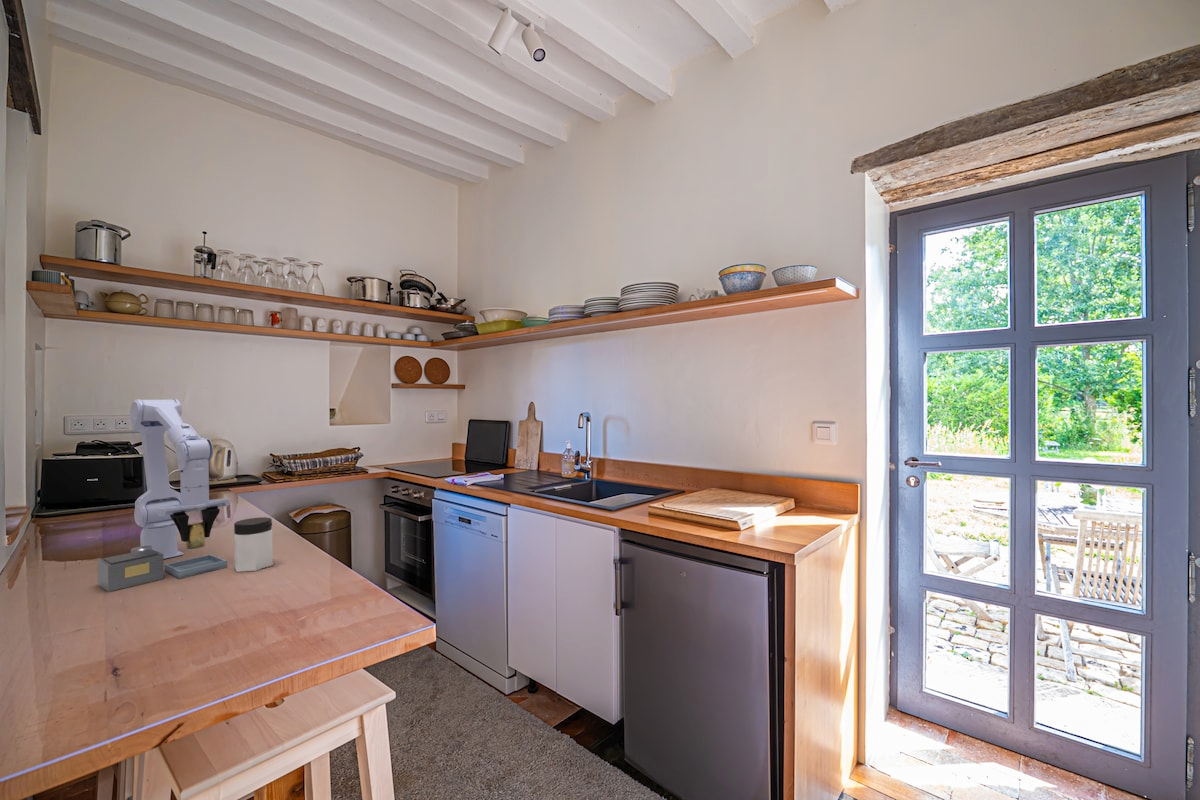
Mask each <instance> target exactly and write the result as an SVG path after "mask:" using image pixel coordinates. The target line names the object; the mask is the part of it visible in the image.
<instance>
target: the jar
mask: <svg viewBox="0 0 1200 800" xmlns="http://www.w3.org/2000/svg"><path fill="white" fill-rule="evenodd" d="M233 525H234V527H233V528H234V529H233V531H234V536H233V537H234V540H233V541H234V568H235V572H237V573H240V572H241V573H242V572H256V571H257V572H258V571H260V570H262V568H263V569H265V567H266V568H269V567H271V566H273V562H274V561H273V554H274V553H273V549H274V548H273V530H272V529H273V520H272V518H271V517H265V516H264V517H251V518H246V519H240V520H238V521H235V522H234V524H233ZM268 566H269V567H268Z"/></svg>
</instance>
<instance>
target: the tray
mask: <svg viewBox="0 0 1200 800" xmlns="http://www.w3.org/2000/svg"><path fill="white" fill-rule="evenodd" d="M225 568H228V560H227V559H224V558H222V557H220V556H216V555H214V554H211V553H210V554H205V555H201V556H197V557H191V558H186V559H183V560H178V561H174V562H171V563H170V562H169V563H164V573H166V574H169V575H171V576H173V577H175V578H176V579H179V580H180V579H184V578H189V577H193V576H197V575H200V574H201V575H202V574H204V573H205V574H206V573H208V572H213V571H218V570H221V569H225Z"/></svg>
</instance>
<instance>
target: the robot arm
mask: <svg viewBox="0 0 1200 800" xmlns="http://www.w3.org/2000/svg"><path fill="white" fill-rule="evenodd" d="M182 407H183V406H182V403H181V402H180V401H179V400H178V398H172V399H140V398H139V399H138V398H136V399H134V401H132V403H131V405H130V412H129V413H130V422H131V423H130V424H131V427H132V430H133V431H134V432H138V433H139V435H140V440H141V446H142V454H143V456H142V457H143V463H144V464H143V465H144V474H145V483H146V492H144V493H143V494H141V495H140V496H139V497H138V498H137V499H136V500H135V502H134V510H133V511H134V514H133V516H134V517H133V518H134V522H135V524H136V525H137V526H138V527H141V528H142V530H141V531H140V537H139V538H140V541H139V543H140V546H152V549H153V550H155V551H157V552H159V553H162V554H163V556H164V560H165V559H169V558H174V557H179V556H183V555H184V552H182V551H180V550H178V533H179V536H180V539H181V542H185V543H186V541H188V523H189V520H190V515H188V514H187V513H189V512H191V513H192V512H196V511H201V515H202V516H201V518H202V522H205V538H210V537H211V531H212V528H213V525H214V523H215V520H216V519H217V517H218V515H219V514H220V510H221V509H220V508H221V507H222V508H223V507H230V498H227V497H224V498H216V499H210V484H209V483H210V475H209V474H210V473H209V472H210V471H209V470H210V469H209V467H210V466H209V461H210V460H212V458H213V456H214V446H213V443H212V441H211V439H210V438H205V437H201V435H199V433H198V432H197V431H196V429H194V427H193V426H192V425H191V424H189V423H185V422H184V421H183V419H182V417H181V416H182V412H183V408H182ZM165 433H166V436H167V439H168V440H169V442H170V443H171V444H172V446H173V447H174V449H175V457H176V458H175V459H176V461H177V469H178V470H179V471H180V474H179V475H180V477H179V478H180V491H177V490H175V489H172V488H171V487H170V477H169V476H170V475H169V470H168V461H167V460H168V459H167V451H166V443H165ZM140 546H139V547H140Z"/></svg>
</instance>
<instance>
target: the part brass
mask: <svg viewBox="0 0 1200 800" xmlns="http://www.w3.org/2000/svg"><path fill="white" fill-rule="evenodd" d="M206 541H207V540H206V537H205V522H203V521H193V522H188V541H186V542H185V549H186V550H194V549H195V550H196V549H201V548H204V547H206V543H207V542H206Z"/></svg>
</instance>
